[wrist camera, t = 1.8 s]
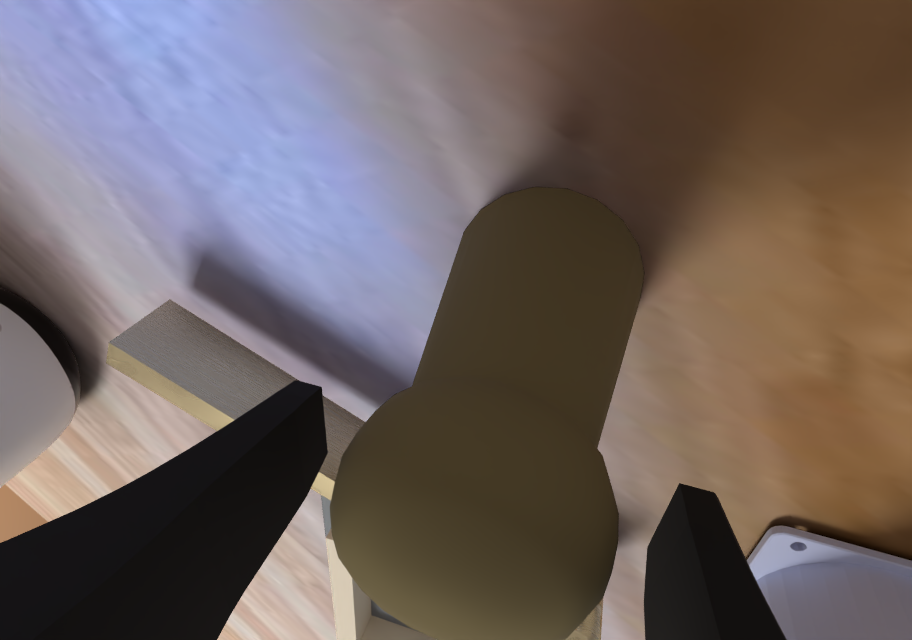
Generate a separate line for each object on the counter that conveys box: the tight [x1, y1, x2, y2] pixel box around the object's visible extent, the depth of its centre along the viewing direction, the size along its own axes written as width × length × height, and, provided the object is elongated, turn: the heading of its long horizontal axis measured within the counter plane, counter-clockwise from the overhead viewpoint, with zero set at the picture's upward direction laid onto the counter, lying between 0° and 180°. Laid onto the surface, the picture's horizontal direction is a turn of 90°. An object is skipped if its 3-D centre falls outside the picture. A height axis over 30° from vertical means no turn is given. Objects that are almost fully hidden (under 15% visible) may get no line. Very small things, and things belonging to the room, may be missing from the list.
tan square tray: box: [321, 495, 437, 640], centre depth 28 cm, size 13×13×3 cm
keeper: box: [106, 300, 603, 640], centre depth 21 cm, size 21×2×3 cm, turn 61°
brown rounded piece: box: [330, 187, 644, 640], centre depth 13 cm, size 6×6×11 cm
